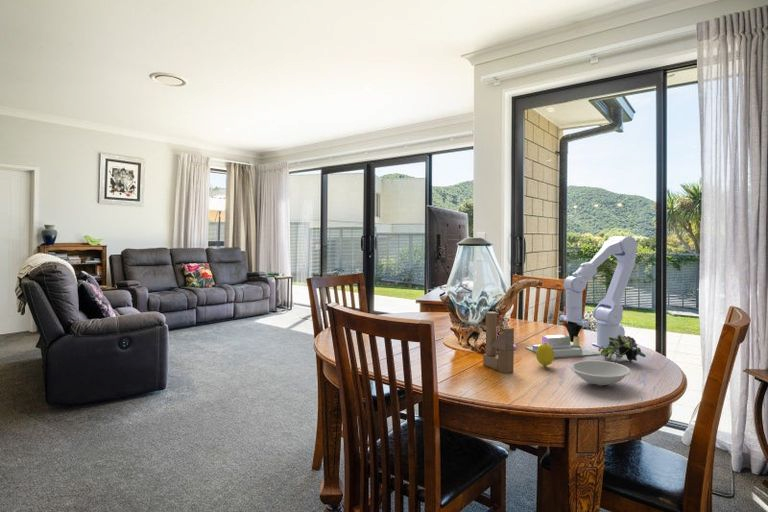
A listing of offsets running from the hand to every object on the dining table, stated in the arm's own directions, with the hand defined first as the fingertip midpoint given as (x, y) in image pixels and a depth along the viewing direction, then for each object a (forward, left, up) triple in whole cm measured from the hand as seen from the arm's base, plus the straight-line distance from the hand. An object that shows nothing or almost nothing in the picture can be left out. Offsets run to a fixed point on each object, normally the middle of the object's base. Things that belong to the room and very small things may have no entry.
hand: (573, 341), depth 161 cm
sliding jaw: (+9, +2, -2) cm, 9 cm away
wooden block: (+42, +17, -3) cm, 45 cm away
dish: (+21, +38, -3) cm, 43 cm away
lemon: (+26, +19, -3) cm, 32 cm away
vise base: (+8, +4, -2) cm, 9 cm away
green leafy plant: (-3, +20, -3) cm, 21 cm away
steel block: (+12, +6, -2) cm, 13 cm away
